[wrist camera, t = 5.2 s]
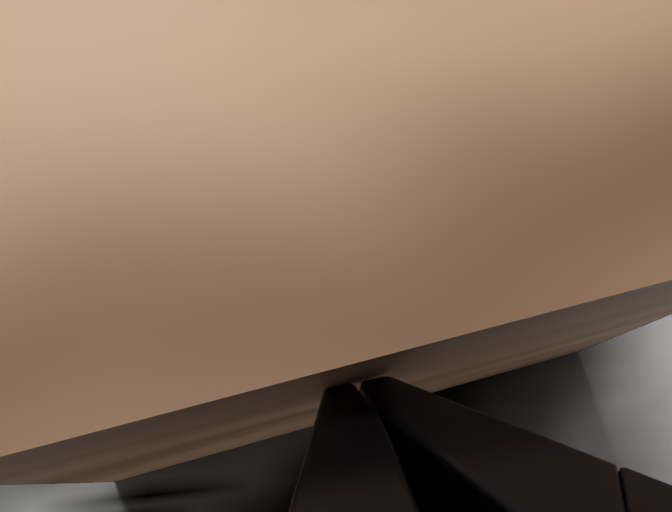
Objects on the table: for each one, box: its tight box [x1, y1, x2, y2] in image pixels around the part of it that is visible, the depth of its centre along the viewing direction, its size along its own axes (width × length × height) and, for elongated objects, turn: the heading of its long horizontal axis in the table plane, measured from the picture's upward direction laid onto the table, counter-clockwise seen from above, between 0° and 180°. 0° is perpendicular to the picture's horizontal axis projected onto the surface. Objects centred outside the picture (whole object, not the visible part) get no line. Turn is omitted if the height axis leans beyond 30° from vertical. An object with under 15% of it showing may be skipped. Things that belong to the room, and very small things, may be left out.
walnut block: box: [0, 0, 672, 485], centre depth 13 cm, size 14×12×9 cm
